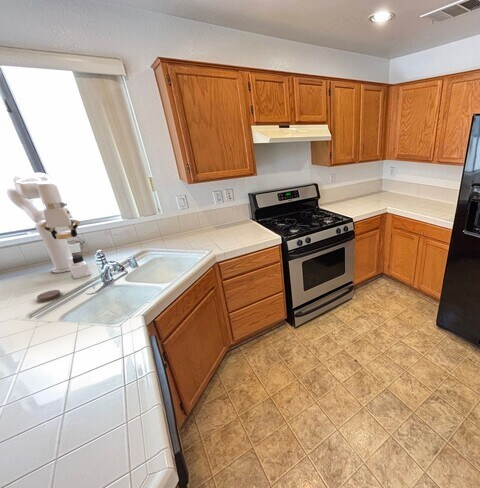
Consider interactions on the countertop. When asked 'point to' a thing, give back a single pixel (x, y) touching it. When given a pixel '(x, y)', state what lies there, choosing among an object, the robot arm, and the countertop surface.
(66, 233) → the maple chip
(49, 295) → the walnut chip
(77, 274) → the medicine bottle
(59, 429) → the countertop surface
